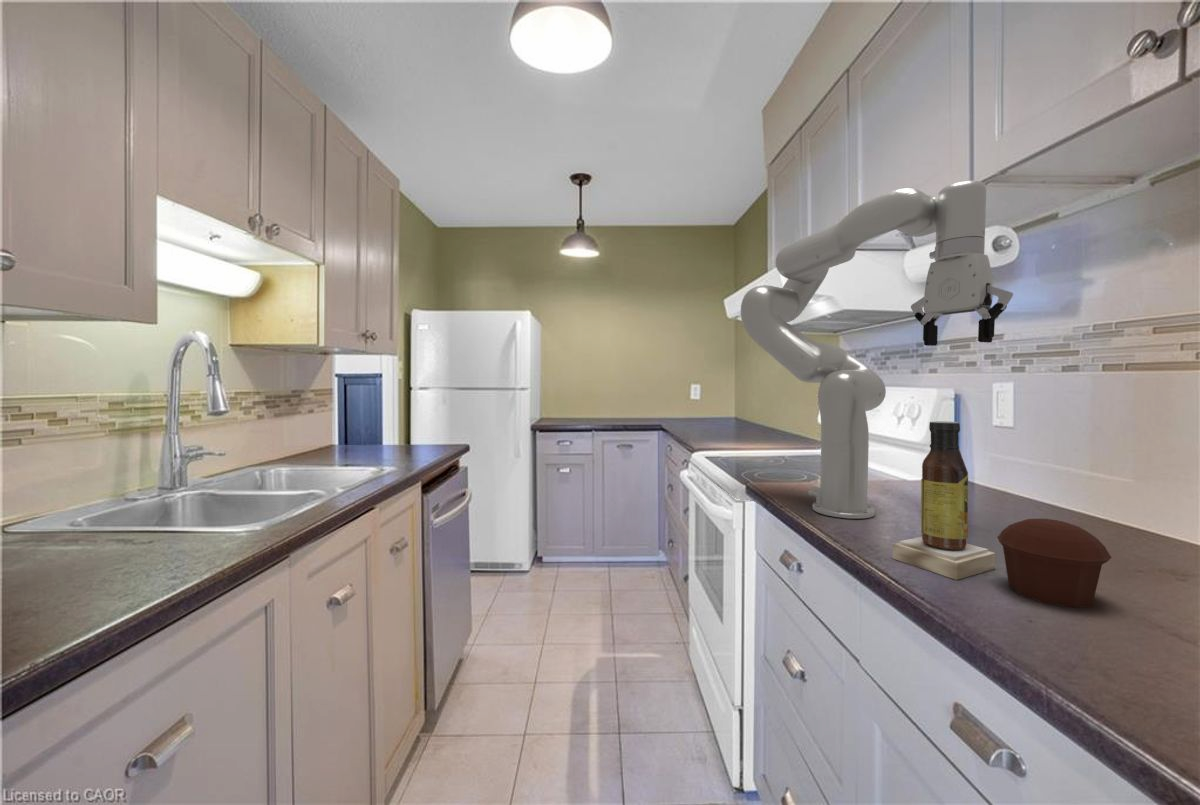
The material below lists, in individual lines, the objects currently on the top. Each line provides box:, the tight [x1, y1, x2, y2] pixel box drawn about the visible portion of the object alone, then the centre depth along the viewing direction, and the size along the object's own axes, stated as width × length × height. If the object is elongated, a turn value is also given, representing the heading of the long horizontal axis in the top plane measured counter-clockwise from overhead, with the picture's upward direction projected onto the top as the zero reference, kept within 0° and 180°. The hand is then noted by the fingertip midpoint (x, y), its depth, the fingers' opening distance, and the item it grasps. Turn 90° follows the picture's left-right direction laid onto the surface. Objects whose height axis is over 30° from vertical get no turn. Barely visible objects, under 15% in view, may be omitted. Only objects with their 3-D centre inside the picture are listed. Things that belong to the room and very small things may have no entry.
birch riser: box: [892, 536, 997, 581], centre depth 82 cm, size 10×10×3 cm
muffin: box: [996, 518, 1112, 609], centre depth 70 cm, size 12×11×10 cm
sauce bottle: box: [920, 420, 969, 550], centre depth 81 cm, size 6×6×20 cm
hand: (956, 343), depth 96 cm, fingers open, 9 cm apart
